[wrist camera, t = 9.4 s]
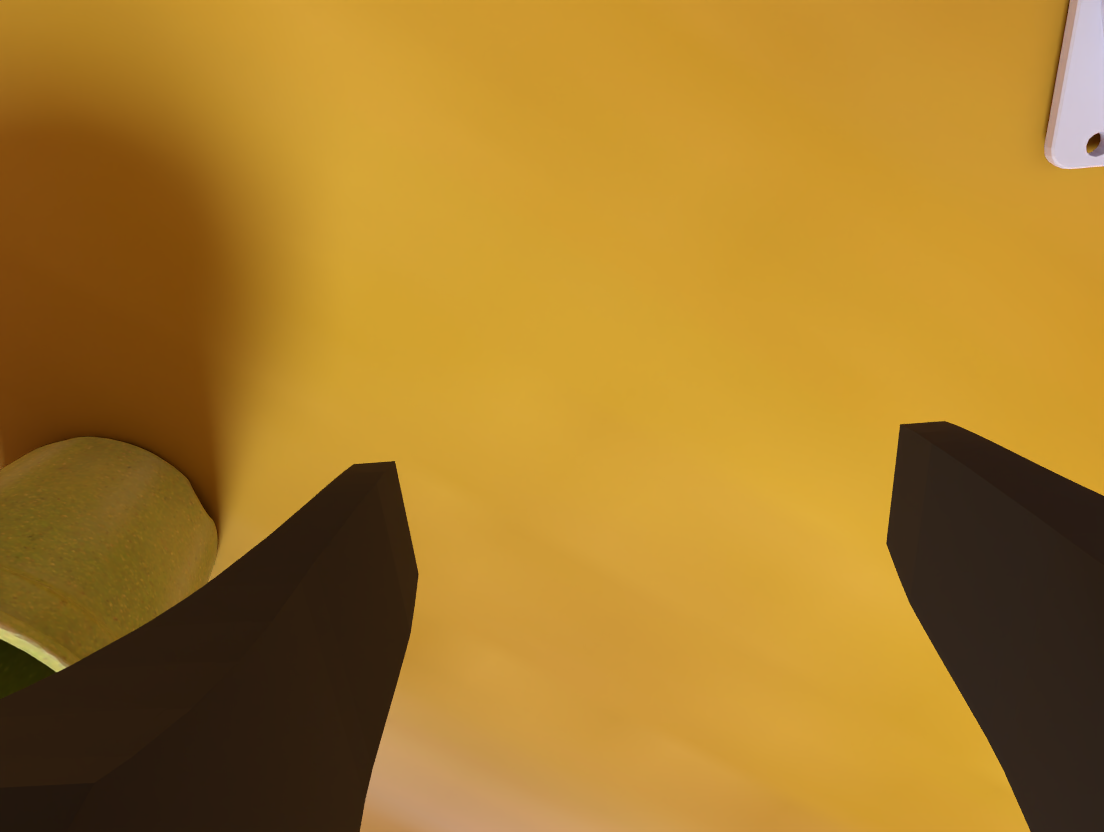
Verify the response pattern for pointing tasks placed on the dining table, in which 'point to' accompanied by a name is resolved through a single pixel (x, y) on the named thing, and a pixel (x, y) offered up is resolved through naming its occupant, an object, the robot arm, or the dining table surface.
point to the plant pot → (92, 551)
